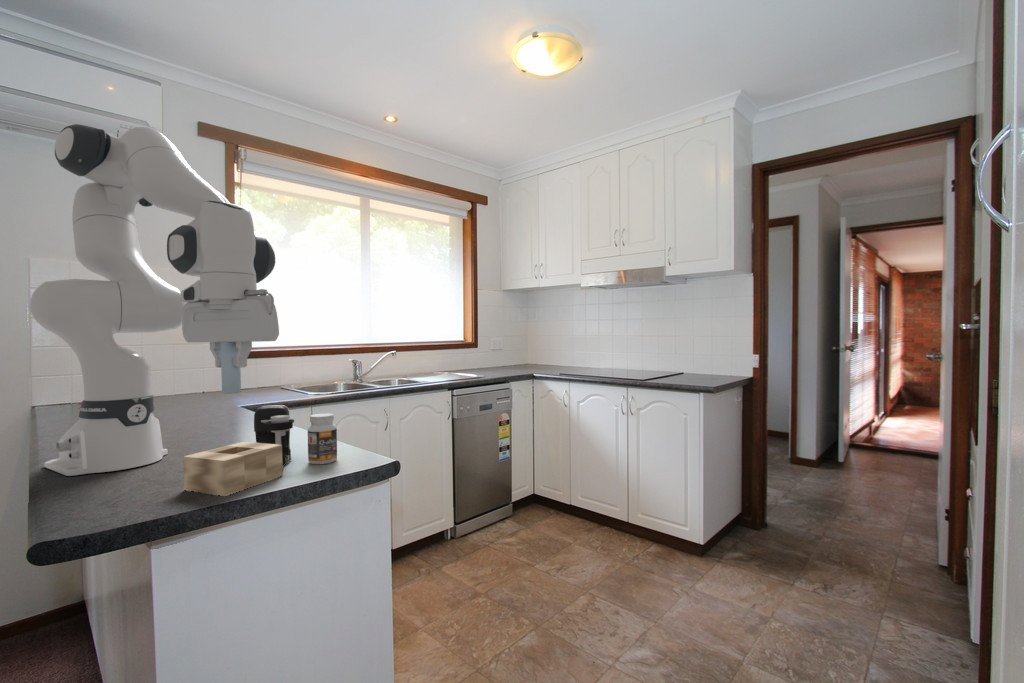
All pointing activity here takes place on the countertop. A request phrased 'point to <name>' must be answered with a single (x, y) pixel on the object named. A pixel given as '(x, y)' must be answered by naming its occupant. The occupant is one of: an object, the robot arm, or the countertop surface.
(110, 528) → the countertop surface
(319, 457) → the pill bottle
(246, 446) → the socket block
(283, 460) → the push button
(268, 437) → the coffee maker
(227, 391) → the peg
